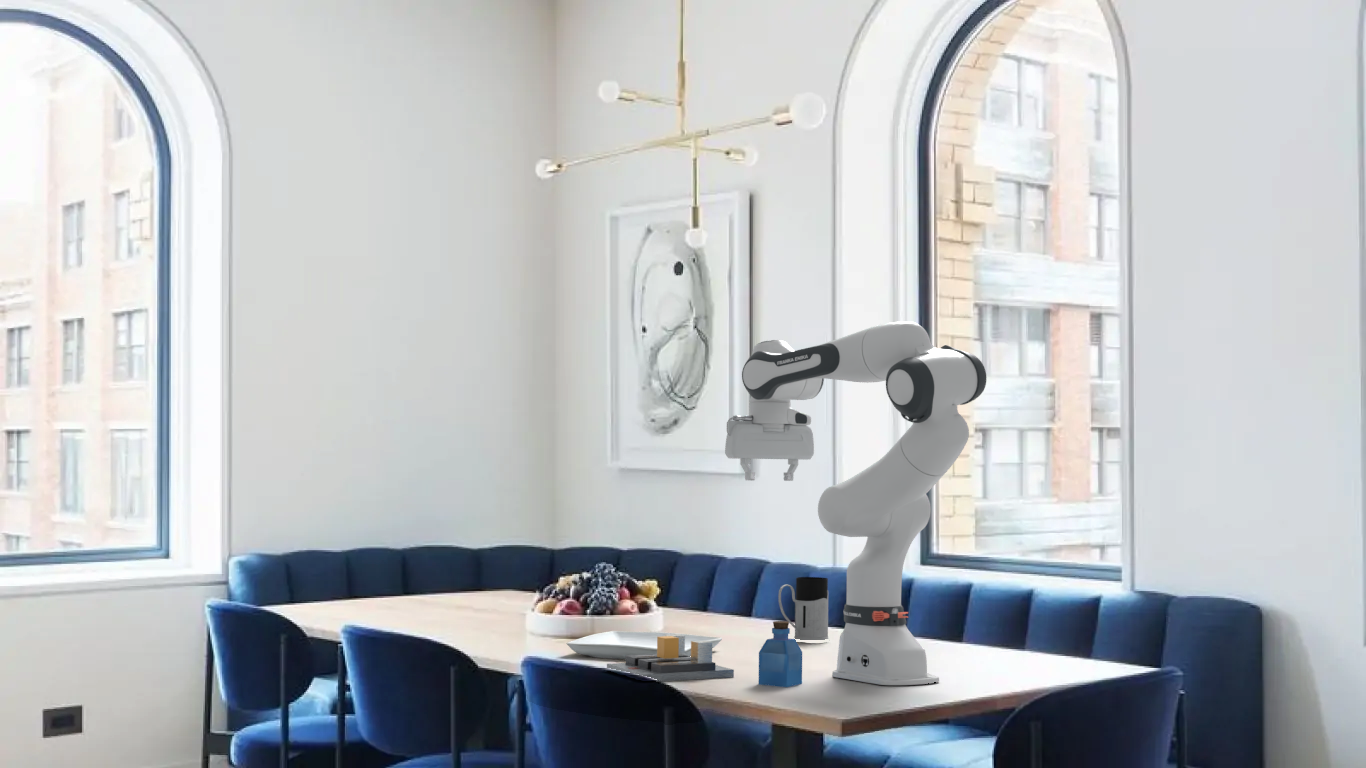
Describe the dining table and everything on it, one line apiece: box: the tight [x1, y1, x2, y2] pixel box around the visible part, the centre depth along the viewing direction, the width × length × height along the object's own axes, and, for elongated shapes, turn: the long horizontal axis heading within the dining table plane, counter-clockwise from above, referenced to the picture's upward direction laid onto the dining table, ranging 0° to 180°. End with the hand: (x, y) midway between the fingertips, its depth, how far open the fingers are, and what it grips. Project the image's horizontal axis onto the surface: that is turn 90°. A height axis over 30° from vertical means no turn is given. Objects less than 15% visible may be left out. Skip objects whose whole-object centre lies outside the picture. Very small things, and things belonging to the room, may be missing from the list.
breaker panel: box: [606, 633, 735, 682], centre depth 336 cm, size 17×20×7 cm
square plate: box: [566, 630, 723, 660], centre depth 369 cm, size 27×27×4 cm
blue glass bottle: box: [758, 620, 803, 688], centre depth 325 cm, size 6×6×12 cm
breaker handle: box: [657, 636, 679, 659], centre depth 336 cm, size 3×3×4 cm
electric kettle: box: [778, 576, 829, 640], centre depth 397 cm, size 9×14×15 cm, turn 124°
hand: (769, 480), depth 359 cm, fingers open, 8 cm apart
